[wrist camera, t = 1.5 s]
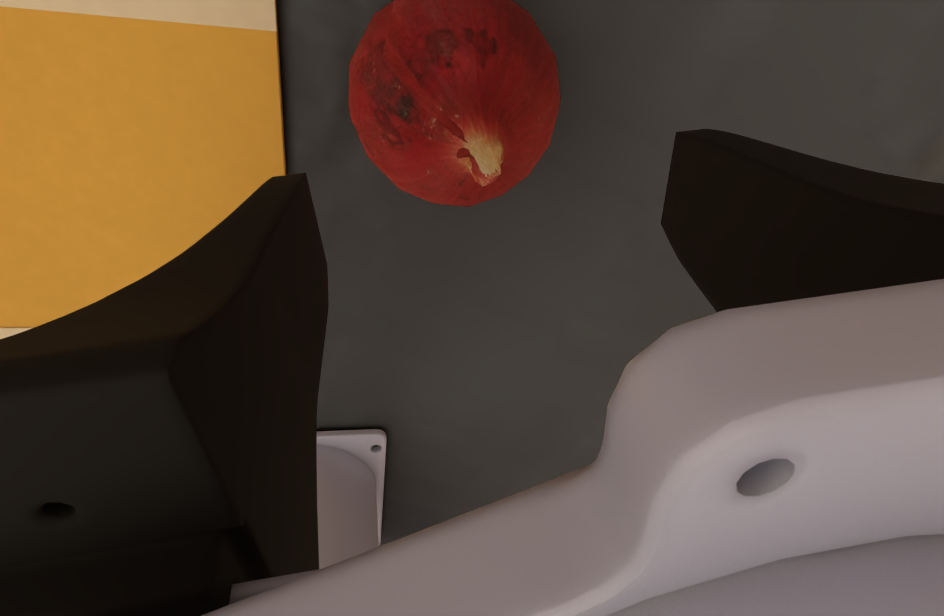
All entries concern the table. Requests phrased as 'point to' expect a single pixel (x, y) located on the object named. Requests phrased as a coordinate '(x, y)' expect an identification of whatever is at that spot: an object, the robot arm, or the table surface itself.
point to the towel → (126, 139)
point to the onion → (454, 97)
